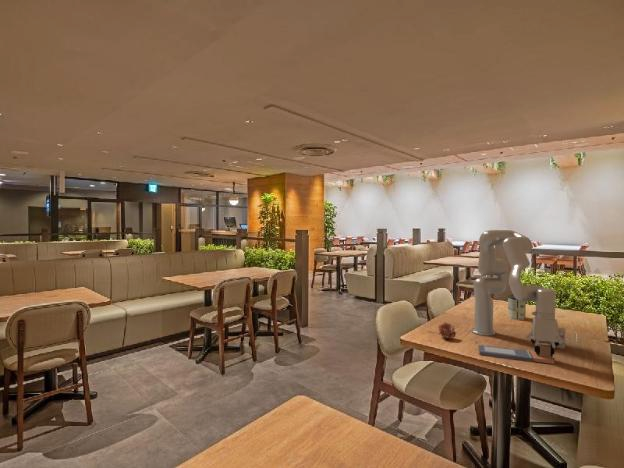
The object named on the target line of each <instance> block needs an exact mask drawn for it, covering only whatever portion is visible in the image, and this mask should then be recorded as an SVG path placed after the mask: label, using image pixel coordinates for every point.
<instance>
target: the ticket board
mask: <svg viewBox="0 0 624 468" xmlns="http://www.w3.org/2000/svg"><path fill="white" fill-rule="evenodd" d="M477 347H478V354H479V355H480V356H488V357H492V358H493V357H494V358H501V359H502V358H503V359H510V360H517V361H525V362H531V363H532V362H534V361H533V358H532V356H531V354H530V350H524V349H523V350H522V349H515V348H507V347H500V346H499V347H498V346H491V345H483V344H482V345H481V344H478V346H477Z"/></svg>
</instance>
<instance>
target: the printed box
mask: <svg viewBox="0 0 624 468" xmlns="http://www.w3.org/2000/svg"><path fill="white" fill-rule="evenodd" d="M558 330H559V336H560V337H561V338H562V340H563V341H564V342H563V343H561V344H559V345H558V346H556V347H555V348H554V349H561V350H562V349H563V350H565V349H566V340H565V339H566V328H564V327H559V326H558ZM548 344H549V346H551V343H550V342H548Z"/></svg>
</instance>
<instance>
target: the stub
mask: <svg viewBox="0 0 624 468" xmlns="http://www.w3.org/2000/svg"><path fill="white" fill-rule="evenodd" d="M538 346H539V355H537V354H536V352H534V350H529V352H530V354H531V356H532V358H533V362H536V363H544V364H552V365H555V360H554V358H553V357H551V347H550V346H549V343H543V342H539V343H538Z"/></svg>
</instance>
